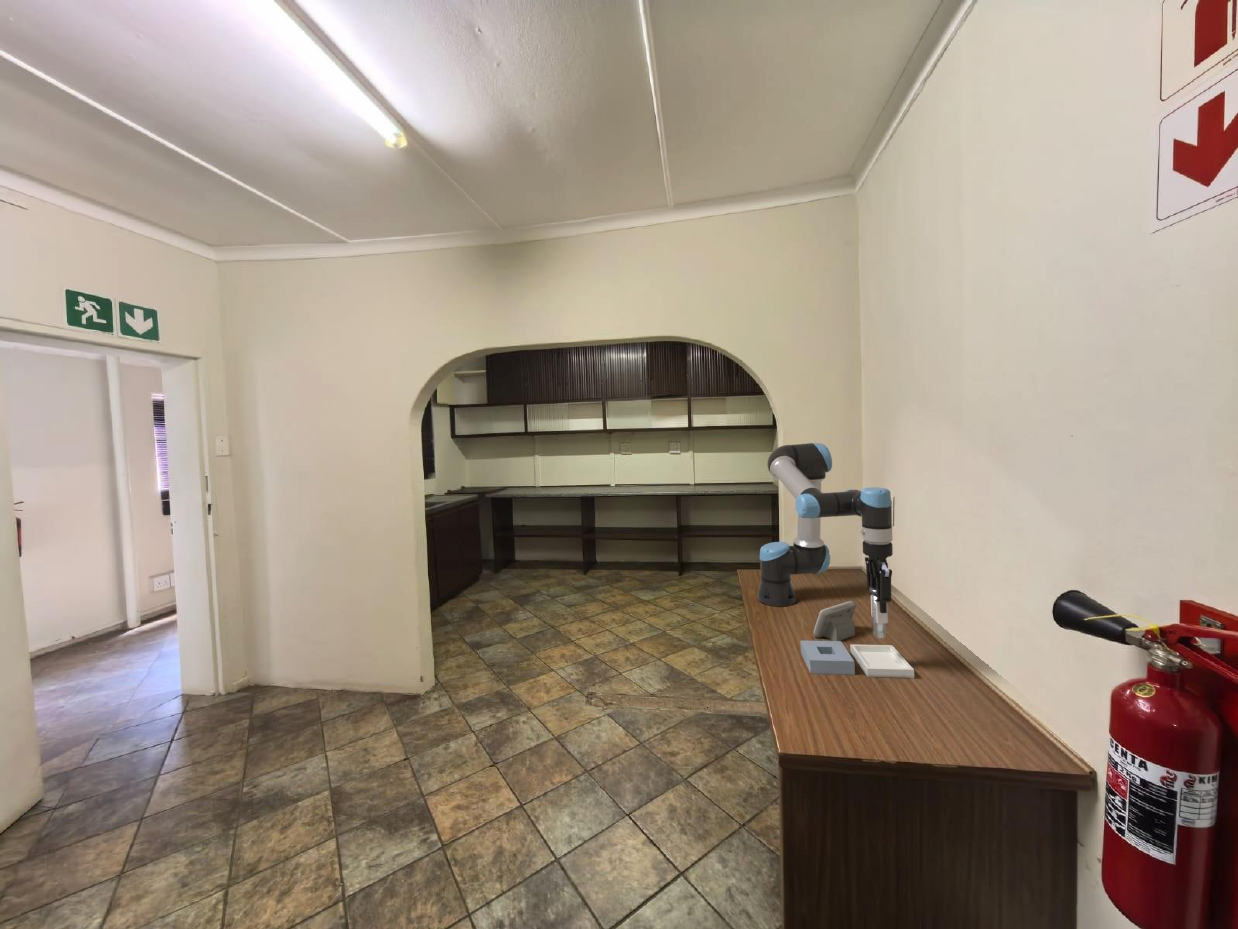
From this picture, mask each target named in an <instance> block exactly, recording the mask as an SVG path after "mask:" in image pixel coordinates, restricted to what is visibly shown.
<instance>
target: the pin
mask: <svg viewBox="0 0 1238 929" xmlns="http://www.w3.org/2000/svg"><path fill="white" fill-rule="evenodd" d="M868 592H869V594H870V593H871V594H870V595H872V636H873V637H874V638H877V639H885V638H886V637H887V636H886V623H877V618H876V602H875V599H877V589H876V586H871V587H869V590H868Z"/></svg>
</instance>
